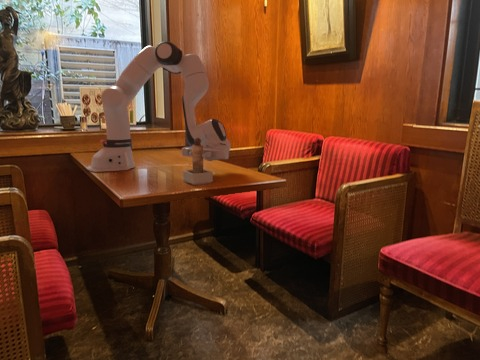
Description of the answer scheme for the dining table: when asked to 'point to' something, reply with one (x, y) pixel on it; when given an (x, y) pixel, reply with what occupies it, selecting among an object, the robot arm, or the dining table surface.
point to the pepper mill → (197, 156)
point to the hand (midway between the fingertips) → (196, 155)
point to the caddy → (197, 177)
